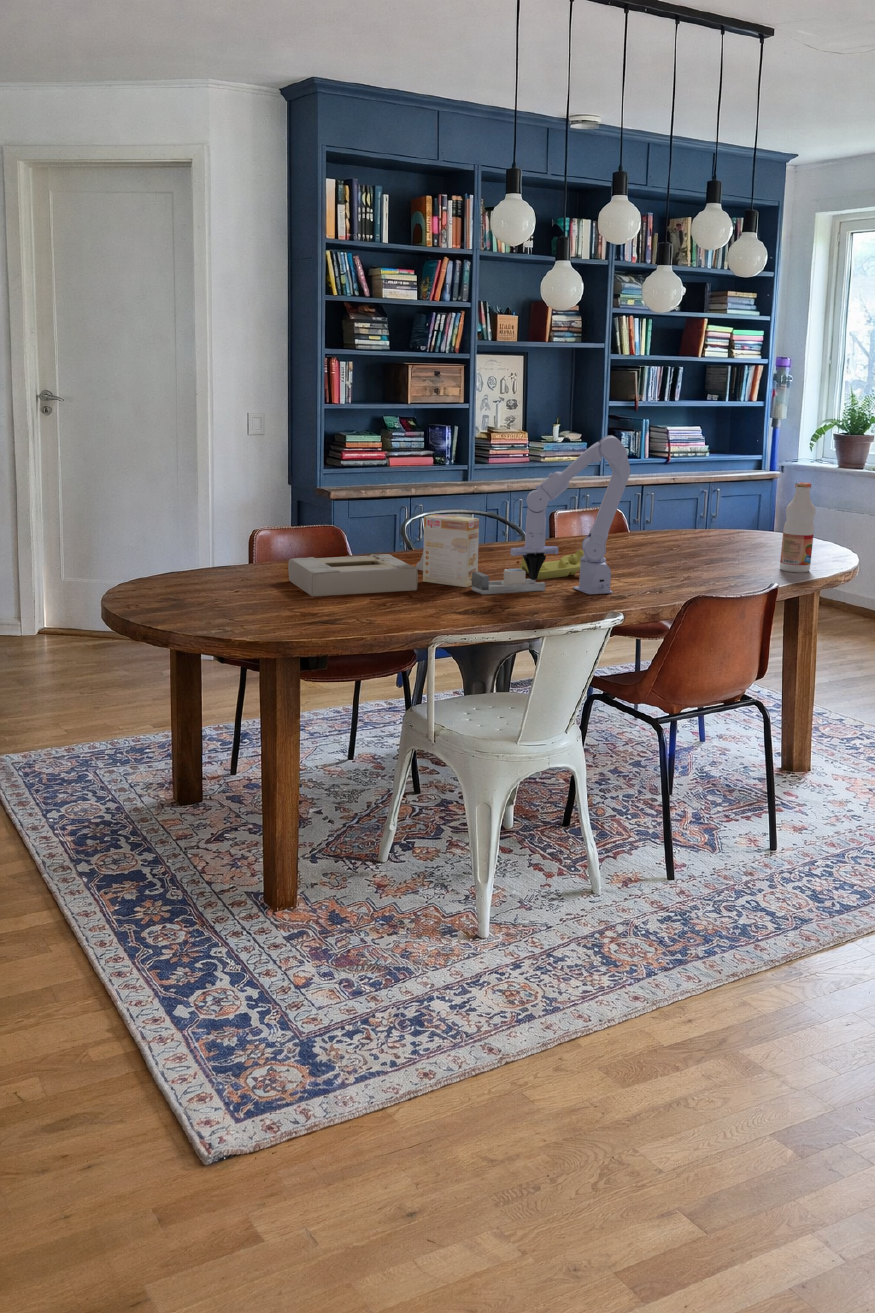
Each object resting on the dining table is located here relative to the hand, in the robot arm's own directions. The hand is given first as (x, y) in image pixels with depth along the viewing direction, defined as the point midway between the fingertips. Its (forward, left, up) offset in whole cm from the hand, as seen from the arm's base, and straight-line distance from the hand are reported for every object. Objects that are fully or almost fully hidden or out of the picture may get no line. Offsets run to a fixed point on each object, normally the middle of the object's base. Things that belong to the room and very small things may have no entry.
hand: (533, 579), depth 340 cm
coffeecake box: (+14, +20, -3) cm, 25 cm away
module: (0, +6, -2) cm, 6 cm away
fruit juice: (+2, -96, -3) cm, 96 cm away
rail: (0, +8, -3) cm, 8 cm away
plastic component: (+16, -16, -3) cm, 23 cm away
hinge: (+32, +15, -3) cm, 36 cm away
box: (+19, +48, -3) cm, 52 cm away
